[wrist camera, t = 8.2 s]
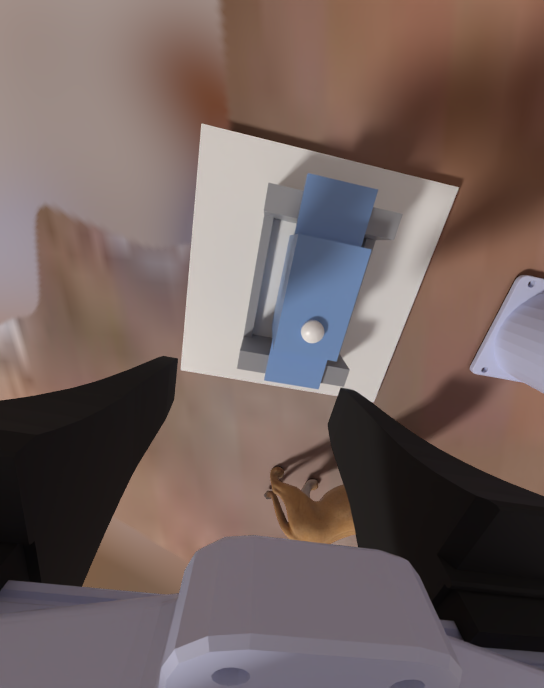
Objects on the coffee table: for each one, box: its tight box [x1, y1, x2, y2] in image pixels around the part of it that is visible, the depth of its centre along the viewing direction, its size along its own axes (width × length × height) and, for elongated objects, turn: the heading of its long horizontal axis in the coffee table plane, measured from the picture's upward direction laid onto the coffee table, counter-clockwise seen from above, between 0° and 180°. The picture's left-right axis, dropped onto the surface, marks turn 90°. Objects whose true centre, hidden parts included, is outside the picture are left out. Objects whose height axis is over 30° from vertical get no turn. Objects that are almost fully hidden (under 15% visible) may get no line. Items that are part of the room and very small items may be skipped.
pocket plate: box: [181, 124, 459, 402], centre depth 17 cm, size 16×16×4 cm
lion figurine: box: [264, 467, 356, 544], centre depth 21 cm, size 15×5×9 cm, turn 120°
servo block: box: [264, 173, 378, 389], centre depth 16 cm, size 4×12×5 cm, turn 169°
